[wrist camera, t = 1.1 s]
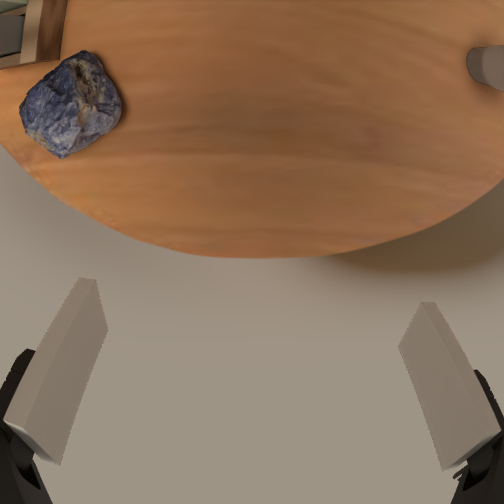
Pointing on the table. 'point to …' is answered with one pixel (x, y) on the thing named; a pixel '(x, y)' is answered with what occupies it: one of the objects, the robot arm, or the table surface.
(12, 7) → the sage key
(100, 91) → the rock
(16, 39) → the charcoal key
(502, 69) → the cup
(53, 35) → the block
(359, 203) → the table surface
